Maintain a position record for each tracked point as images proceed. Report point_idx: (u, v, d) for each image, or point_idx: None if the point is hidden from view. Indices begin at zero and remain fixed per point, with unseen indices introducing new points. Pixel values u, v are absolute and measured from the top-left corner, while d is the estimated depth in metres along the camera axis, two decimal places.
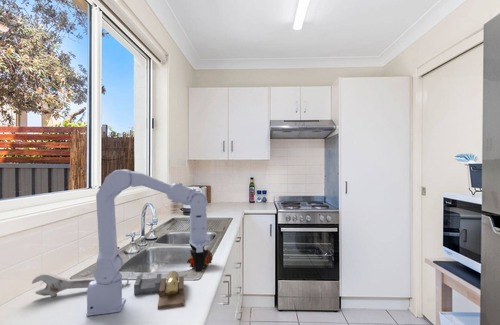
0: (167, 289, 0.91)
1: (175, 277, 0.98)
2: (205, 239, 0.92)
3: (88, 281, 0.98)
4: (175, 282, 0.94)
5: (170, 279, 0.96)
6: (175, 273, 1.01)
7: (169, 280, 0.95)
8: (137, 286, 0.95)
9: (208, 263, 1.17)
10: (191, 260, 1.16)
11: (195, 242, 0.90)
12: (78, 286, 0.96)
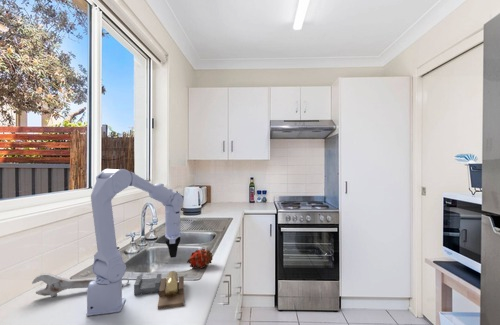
0: (166, 289, 0.91)
1: (174, 277, 0.98)
2: (178, 233, 1.07)
3: (88, 281, 0.98)
4: (174, 282, 0.94)
5: (169, 279, 0.95)
6: (174, 273, 1.01)
7: (168, 280, 0.95)
8: (137, 286, 0.95)
9: (208, 263, 1.17)
10: (191, 260, 1.16)
11: (169, 235, 1.05)
12: (78, 286, 0.96)
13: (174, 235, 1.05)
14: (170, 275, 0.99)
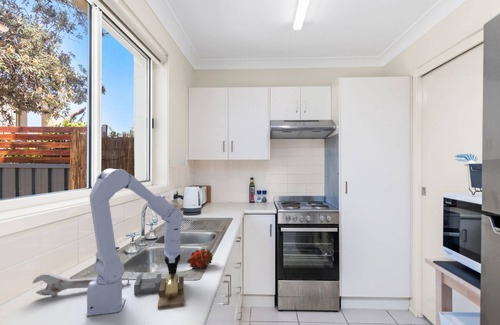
0: (167, 291, 0.89)
1: (175, 279, 0.96)
2: (178, 250, 1.01)
3: (89, 281, 0.98)
4: (175, 284, 0.92)
5: (170, 281, 0.94)
6: (175, 275, 1.00)
7: (169, 282, 0.93)
8: (137, 286, 0.95)
9: (208, 263, 1.17)
10: (191, 260, 1.16)
11: (169, 253, 0.99)
12: (79, 286, 0.97)
13: (174, 253, 1.00)
14: (170, 277, 0.97)
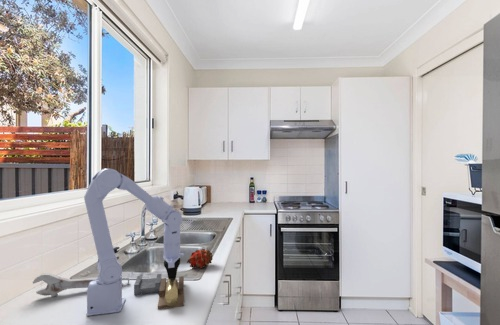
0: (166, 298, 0.85)
1: (175, 284, 0.92)
2: (178, 254, 0.97)
3: (89, 281, 0.98)
4: (175, 290, 0.88)
5: (169, 287, 0.90)
6: (174, 280, 0.95)
7: (168, 288, 0.89)
8: (137, 286, 0.95)
9: (208, 263, 1.17)
10: (191, 260, 1.16)
11: (168, 257, 0.95)
12: (79, 286, 0.97)
13: (173, 257, 0.95)
14: (170, 282, 0.93)
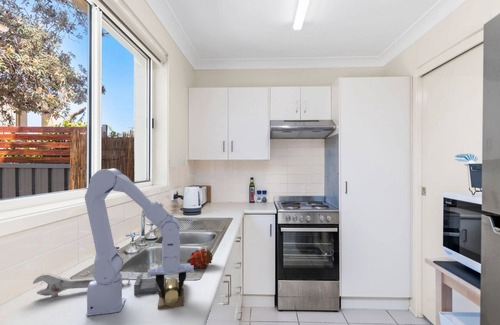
0: (167, 297, 0.85)
1: (175, 284, 0.92)
2: (165, 270, 0.88)
3: (89, 281, 0.98)
4: (175, 290, 0.88)
5: (170, 287, 0.90)
6: (175, 280, 0.95)
7: (169, 288, 0.89)
8: (137, 286, 0.95)
9: (208, 263, 1.17)
10: (191, 260, 1.16)
11: None
12: (79, 286, 0.96)
13: (161, 270, 0.89)
14: (171, 282, 0.93)
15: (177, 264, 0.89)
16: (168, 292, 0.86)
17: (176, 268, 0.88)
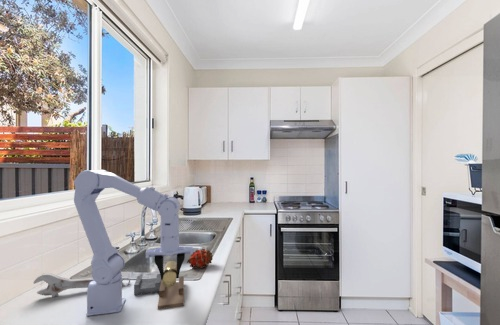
0: (164, 279, 0.82)
1: (173, 266, 0.89)
2: (164, 250, 0.85)
3: (90, 281, 0.98)
4: (173, 271, 0.85)
5: (167, 269, 0.87)
6: (173, 263, 0.93)
7: (166, 270, 0.87)
8: (137, 286, 0.95)
9: (208, 263, 1.17)
10: (191, 260, 1.16)
11: None
12: (80, 286, 0.97)
13: (160, 250, 0.86)
14: (168, 265, 0.90)
15: (176, 245, 0.86)
16: (165, 274, 0.84)
17: (175, 249, 0.86)
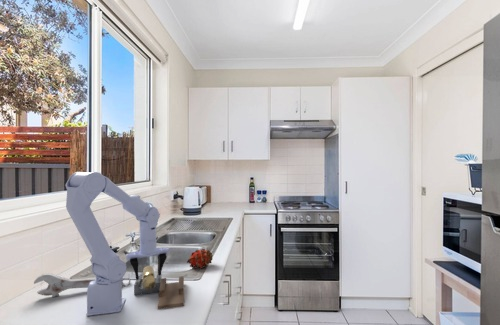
0: (145, 282, 0.94)
1: (152, 271, 1.01)
2: (144, 252, 0.96)
3: (90, 281, 0.98)
4: (152, 276, 0.97)
5: (147, 273, 0.99)
6: (151, 268, 1.04)
7: (146, 274, 0.98)
8: (137, 286, 0.95)
9: (208, 263, 1.17)
10: (191, 260, 1.16)
11: (139, 251, 0.99)
12: (80, 286, 0.97)
13: (140, 253, 0.97)
14: (147, 269, 1.02)
15: (155, 247, 0.99)
16: (146, 277, 0.95)
17: (154, 250, 0.98)
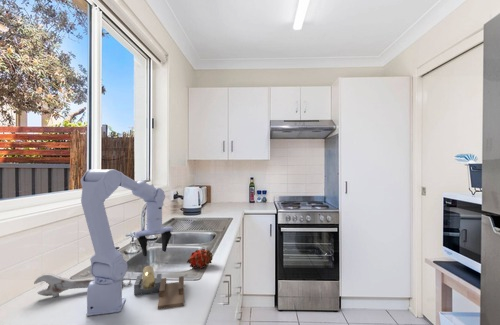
0: (144, 282, 0.94)
1: (151, 271, 1.01)
2: (152, 230, 1.04)
3: (90, 281, 0.98)
4: (152, 275, 0.97)
5: (147, 273, 0.99)
6: (151, 268, 1.04)
7: (146, 274, 0.98)
8: (137, 286, 0.95)
9: (208, 263, 1.17)
10: (191, 260, 1.16)
11: (146, 230, 1.06)
12: (80, 286, 0.96)
13: (147, 231, 1.05)
14: (147, 269, 1.02)
15: (161, 225, 1.07)
16: (145, 277, 0.95)
17: (161, 228, 1.06)
